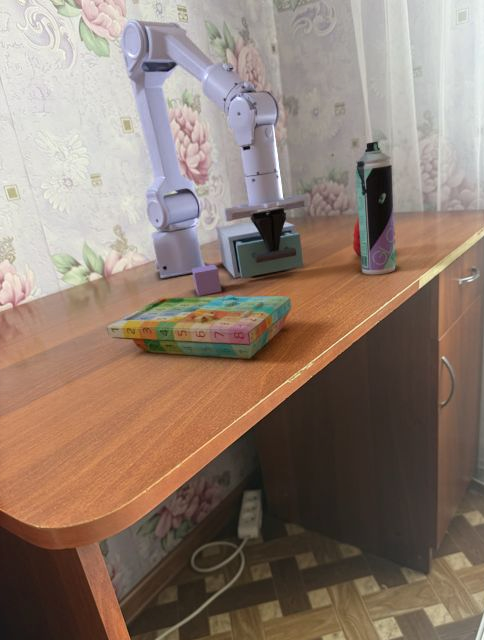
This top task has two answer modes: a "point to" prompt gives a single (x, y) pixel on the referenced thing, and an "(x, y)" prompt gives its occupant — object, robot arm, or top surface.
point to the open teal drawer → (267, 255)
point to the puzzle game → (205, 325)
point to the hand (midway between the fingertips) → (274, 256)
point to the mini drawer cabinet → (235, 233)
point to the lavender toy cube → (206, 280)
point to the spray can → (375, 211)
